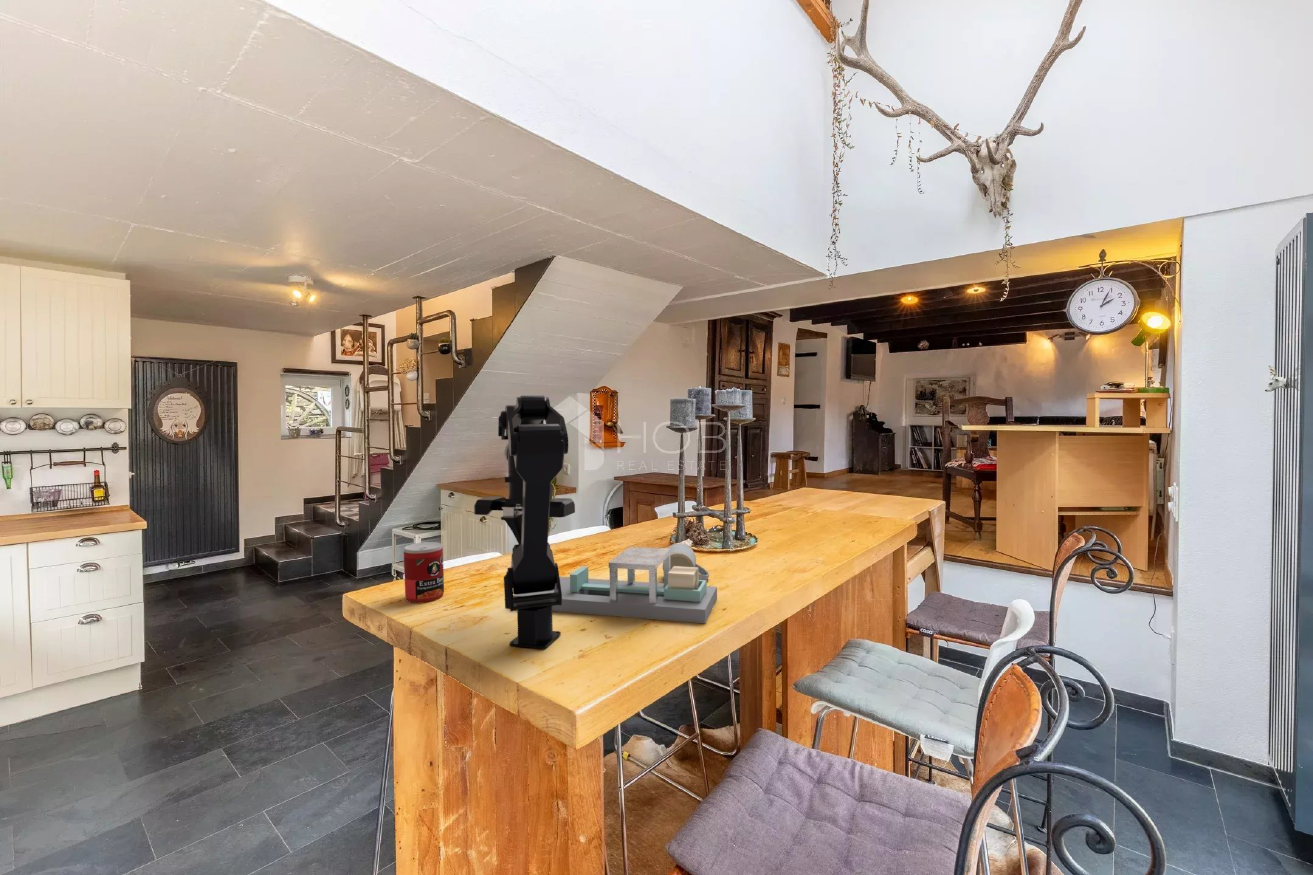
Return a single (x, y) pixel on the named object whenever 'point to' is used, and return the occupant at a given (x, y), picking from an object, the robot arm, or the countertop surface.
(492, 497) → the robot arm
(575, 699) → the countertop surface
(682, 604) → the slate deck
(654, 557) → the grey stone table
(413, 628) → the countertop surface
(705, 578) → the ceramic mug
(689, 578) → the beech block
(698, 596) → the long teal base
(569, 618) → the countertop surface
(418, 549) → the canned food
